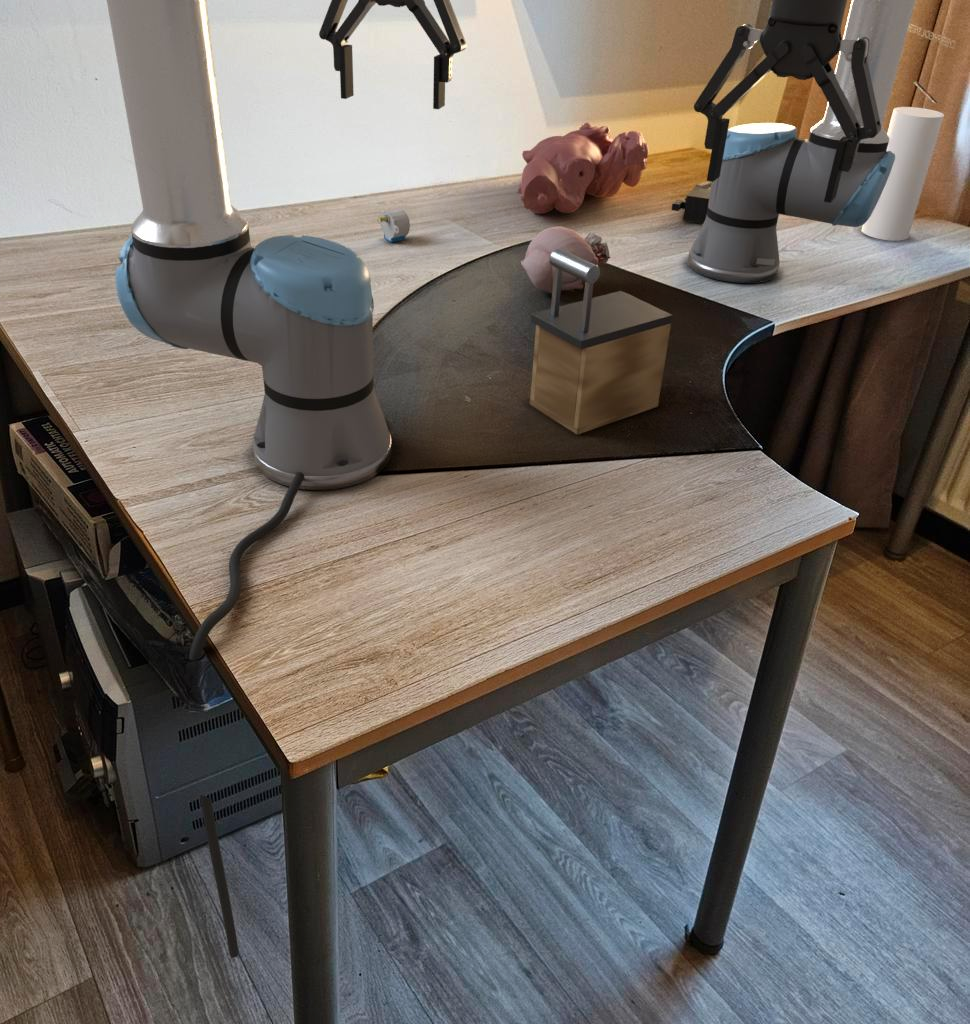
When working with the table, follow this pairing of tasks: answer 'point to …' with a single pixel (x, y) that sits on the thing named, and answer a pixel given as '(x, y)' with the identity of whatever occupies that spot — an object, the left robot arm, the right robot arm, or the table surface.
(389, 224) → the electric motor
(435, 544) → the table surface
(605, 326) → the lid
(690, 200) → the toy
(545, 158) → the reddish clay figurine
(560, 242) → the toy
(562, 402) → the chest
